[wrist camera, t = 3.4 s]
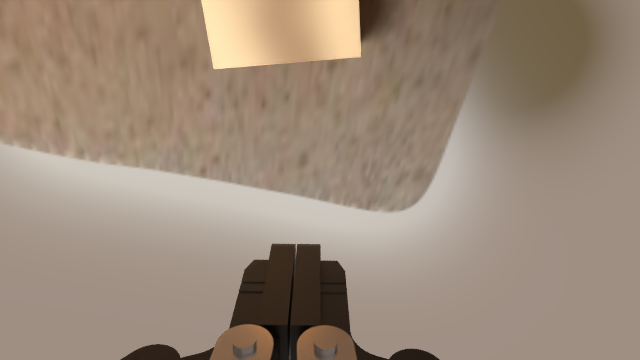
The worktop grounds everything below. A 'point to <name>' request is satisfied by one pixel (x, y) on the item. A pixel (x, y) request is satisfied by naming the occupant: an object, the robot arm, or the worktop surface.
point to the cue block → (281, 31)
